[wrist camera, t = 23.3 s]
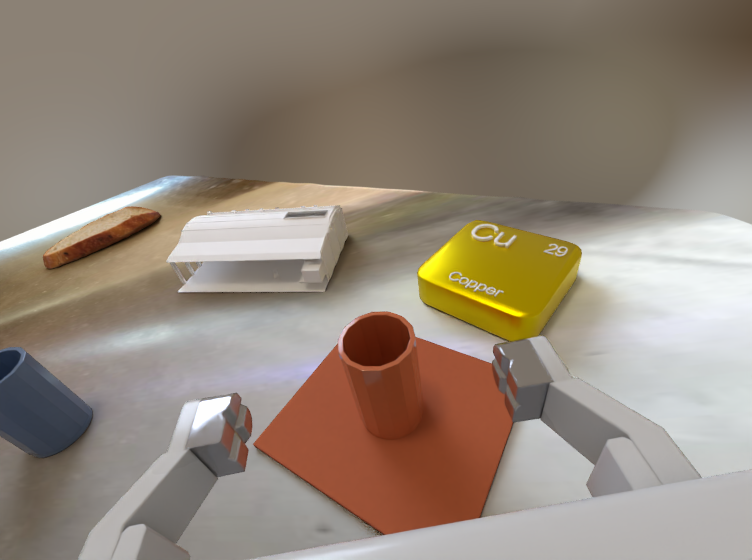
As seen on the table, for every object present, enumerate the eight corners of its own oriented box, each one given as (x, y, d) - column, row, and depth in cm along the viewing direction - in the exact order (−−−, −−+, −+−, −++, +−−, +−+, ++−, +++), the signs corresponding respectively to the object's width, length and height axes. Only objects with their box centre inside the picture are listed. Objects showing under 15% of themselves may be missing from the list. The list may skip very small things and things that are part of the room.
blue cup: (42, 469, 36) (-46, 414, 29) (20, 440, 39) (-64, 385, 32) (102, 418, 39) (35, 360, 33) (78, 396, 42) (12, 339, 36)
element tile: (413, 300, 46) (409, 270, 43) (473, 242, 54) (473, 213, 51) (529, 351, 38) (534, 319, 35) (580, 273, 46) (589, 241, 43)
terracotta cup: (404, 452, 31) (390, 383, 25) (347, 421, 34) (322, 353, 28) (434, 396, 35) (428, 324, 29) (380, 373, 38) (364, 303, 32)
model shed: (173, 292, 56) (149, 255, 52) (219, 239, 67) (203, 205, 63) (327, 292, 50) (314, 251, 46) (350, 234, 61) (341, 197, 57)
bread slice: (37, 271, 68) (21, 255, 66) (92, 223, 82) (81, 208, 80) (126, 258, 67) (114, 241, 64) (167, 211, 81) (159, 196, 78)
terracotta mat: (456, 584, 24) (456, 582, 24) (254, 446, 34) (252, 444, 34) (528, 379, 35) (529, 376, 35) (360, 320, 45) (359, 317, 45)
